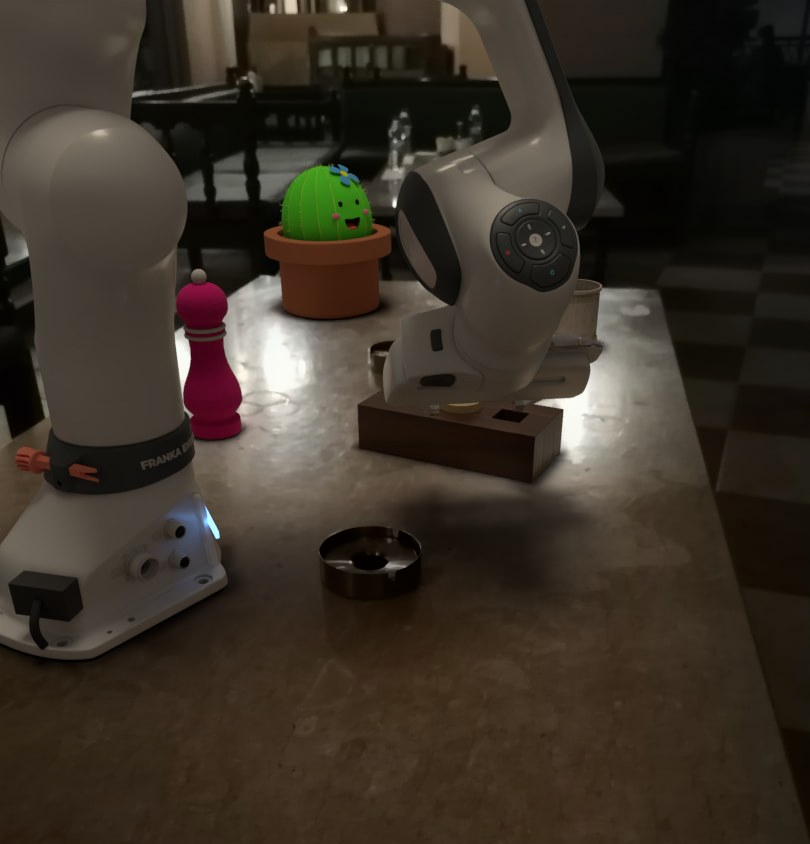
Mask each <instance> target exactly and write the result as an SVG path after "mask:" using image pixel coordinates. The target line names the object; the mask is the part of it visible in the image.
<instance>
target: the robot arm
mask: <svg viewBox="0 0 810 844" xmlns="http://www.w3.org/2000/svg"><path fill="white" fill-rule="evenodd" d="M146 1H147V0H0V212H1V213H2V215H3V216H4V218H6V220H7V221H8V222H10V224H12V226H14V227H15V228H16V229H17V230H18V231H20V232H21V233H22V234H23V237H24V240H25V241H24V242H25V244H26V249H27V254H28V260H29V267H30V276H31V282H32V283H31V286H32V287H31V288H32V296H33V297H32V298H33V309H34V336H33V342H34V348H35V352H36V357H37V362H38V366H39V371H40V376H41V381H42V387H43V391H44V394H45V400H46V405H47V410H48V415H49V419H50V423H51V427H50V429H49V431H48V438H47V443H46V449H45V451H44V450H41V449H35V448H33V447H30V446H22V447H20V448H19V449H17V451H16V453H15V454H16V455H15V456H14V460H15V461H14V464H15V465H16V468H17V469H19V470H20V471H22V472H23V471H24V472H32V473H33V474H34V475H35V474H36V475H41V474H43V478H44V481H43V482H42V484H41V486H40V487H39V488H38V490H37V491H36V492H35V494H34V495H33V497H32V499H31V500H30V502H29V503H28V505H27V506H26V508H25V509H24V511H23V512H22V513H21V515H20V516H19V518H18V519H17V520H16V522H15V523H14V525H13V526H12V528H11V529H10V530H9V532H8V533H7V535H6V536H5V537H4V539H3V540H2V541H1V543H0V644H2V645H4V646H7V647H8V648H11V649H13V650H17V651H19V652H22V653H25V654H29V655H33V656H36V657H40V658H46V659H52V660H53V659H55V660H66V661H79V660H89V659H90V660H91V659H95V658H97V657H98V656H100V655H103V654H104V653H106V652H108V651H110V650H112V649H114V648H116V647H118V646H119V645H122V644H123V643H125V642H127V641H128V640H131V639H132V638H134V637H136V636H138V635H140V634H142V633H143V632H145V631H147V630H149V629H151V628H153V627H154V626H156V625H158V624H160V623H162V622H164V621H165V620H167V619H169V618H171V617H173V616H174V615H176V614H178V613H180V612H182V611H183V610H185V609H187V608H189V607H191V606H194V605H195V604H197V603H199V602H201V601H202V600H204V599H206V598H207V597H209V596H211V595H213V594H214V593H215V594H216V593H217V592H218V591H220V590H223V588H226V586H227V585H228V584H229V579H228V575H227V572H226V569H225V568H224V566H223V565H222V563H221V561H222V550H221V547H220V544H219V543H218V541H217V540H218V539H220V531H219V529H218V528H217V525H216V524H215V522H214V520H213V518H212V516H211V514H210V512H209V510H208V509H207V507H206V504H205V500H204V496H203V493H202V490H201V487H200V485H199V482H198V479H197V476H196V472H195V468H194V463H193V460H194V458H195V455H196V449H195V436H194V434H193V432H192V428H191V422H190V418H191V417H190V415H189V413H188V412H187V411H185V406H184V402H183V390H182V384H181V376H180V368H179V367H180V366H179V360H178V353H177V345H176V335H175V334H176V333H175V303H176V301H175V299H176V287H177V286H176V285H177V269H178V243H179V241H180V240H181V237H182V236H183V233H184V230H185V228H186V227H185V226H186V222H187V218H188V195H187V194H188V193H187V190H186V186H185V182H184V179H183V176H182V174H181V172H180V169H179V168H178V166H177V164H176V163H175V161H174V160H173V159H172V157H171V156H170V155H169V153H168V152H167V150H165V149H164V147H163V146H162V145H161V143H159V141H158V140H156V138H154V136H152V134H150V132H148V131H147V130H146V129H145V128H144V127H143V126H141V125H140V124H138V123H137V122H136V121H134V120H132V119H131V116H132V115H131V114H132V102H133V101H132V100H133V93H134V83H135V82H134V80H135V75H136V74H135V73H136V65H137V60H138V53H139V48H140V42H141V39H142V35H143V33H144V30H145V26H146V23H147V2H146ZM437 1H439V2H441V3H445V4H448V5H450V6H452V7H454V8H456V9H457V10H459V11H460V12H461V13H463V14H464V15H465V16H466V17H467V18H468V19H469V20H470V21H471V23H472V24H473V25H474V28H475V29H476V31H477V33H478V35H479V38H480V40H481V42H482V45H483V47H484V50H485V52H486V54H487V57H488V59H489V62H490V64H491V67H492V69H493V72H494V75H495V77H496V79H497V82H498V85H499V87H500V89H501V91H502V94H503V97H504V99H505V102H506V104H507V107H508V110H509V112H510V118H511V119H510V124H509V126H508V128H507V129H506V130H505V131H503V132H500V133H499V134H496V135H494V136H491V137H489V138H486V139H484V140H481V141H480V142H478V143H475V144H472V145H470V146H468V147H466V148H463V149H457V150H455V151H453V152H450V153H448V154H446V155H443V156H441V157H439V158H436V159H434V160H432V161H429V162H428V163H425V164H422V165H421V166H419V167H416V168H415V169H414V170H410V171H409V172H407V174H406V175H405V177H404V178H403V181H402V183H401V185H400V187H399V191H398V195H397V200H396V203H395V213H394V228H395V234H396V235H395V236H396V240H397V244H398V247H399V251H400V254H401V255H402V256H401V257H402V258H403V260H404V263H405V264H406V266H407V267H408V269H409V271H410V273H411V274H412V275H413V276H414V278H415V279H416V281H417V282H418V283H419V285H421V286H422V287H423V288H424V289H425V290H426V291H427V292H428V293H430V294H431V295H432V296H433V297H435V298H437V299H438V300H439V301H440V302H442V303H444V304H446V305H445V306H441V307H438V308H434V309H431V310H427V311H422V312H417V313H413V314H409V315H406V316H405V317H403V319H402V321H401V331H400V332H401V333H400V336H399V337H398V338H396V339H395V340H394V341H393V342H392V344H391V345H390V347H389V349H388V351H387V354H386V357H385V360H384V365H383V370H382V387H383V389H384V396H385V401H386V403H387V404H389V405H391V406H393V407H403V406H420V407H421V408H423V409H424V411H425V416H437V415H439V413H440V410H441V409H440V405H441V404H462V403H482V402H502V401H512V404H513V407H512V409H513V411H527V410H528V408H529V406H530V405H533V404H537V403H539V402H541V401H544V400H559V399H561V400H562V399H572V398H575V397H578V396H580V395H582V394H583V393H584V391H585V390H586V388H587V385H588V383H589V380H590V375H591V364H593V363H595V362H596V361H598V360H599V358H600V356H601V354H602V352H603V350H604V346H603V344H602V342H601V341H598V340H597V341H594V340H592V339H591V337H585V336H580V335H573V334H566V335H554V333H555V331H556V330H557V329H558V327H559V326H560V324H561V322H562V320H563V318H564V316H565V314H566V312H567V310H568V307H569V305H570V302H571V300H572V297H573V294H574V291H575V288H576V284H577V280H578V279H579V274H580V265H581V246H580V240H579V235H578V232H579V231H581V230H583V229H584V228H585V227H586V226H587V225H588V224H589V222H590V221H591V219H592V217H593V215H594V213H595V211H596V209H597V207H598V204H599V203H600V199H601V197H602V194H603V190H604V186H605V179H606V170H605V169H606V168H605V163H604V159H603V156H602V153H601V150H600V148H599V146H598V144H597V141H596V139H595V137H594V135H593V132H592V131H591V130H590V128H589V126H588V124H587V122H586V120H585V119H584V116H583V115H582V113H581V112H580V109H579V108H578V105H577V103H576V100H575V98H574V96H573V93H572V90H571V88H570V85H569V83H568V80H567V77H566V74H565V72H564V69H563V66H562V63H561V60H560V58H559V55H558V52H557V49H556V47H555V44H554V41H553V39H552V38H553V37H552V36H551V33H550V30H549V28H548V25H547V22H546V19H545V16H544V14H543V11H542V9H541V6H540V2H539V0H437Z"/></svg>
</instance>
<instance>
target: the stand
mask: <svg viewBox="0 0 810 844" xmlns="http://www.w3.org/2000/svg"><path fill="white" fill-rule="evenodd" d="M512 407H513V404H512V401H502V402H482V408H481V409H480V410H479V411H477V412H474V413H468V414H454V413H449V412H446V411H443V410H442V409H441V408H440V409H441V410H440V413H439V415H437V416H425V411H424V409H423V408H421V407H420V406H403V407H393V406H391V405H389V404H387V403H386V401H385V396H384V388H382V389H380V390H379V391H377V392H376V393H374V394H372V395H370V396H369V397H367V398H365V399H364V400H362V401H361V402H359V403H358V404H357V426H358V427H357V428H358V430H357V431H358V448H361V449H365V450H369V451H373V452H379V453H384V454H390V455H394V456H399V457H405V458H409V459H413V460H419V461H423V462H429V463H433V464H439V465H444V466H448V467H454V468H458V469H464V470H469V471H472V472H478V473H483V474H488V475H492V476H493V475H494V476H497V477H502V478H507V479H513V480H516V481H517V480H518V481H523V482H528V483H533V482H534V481H535V480H536V479H537V478H538V477H539V476H540V475H541V474H542V473H543V472H544V471H545V470H546V468H548V466H549V465H550V464H551V463H552V462H553V461H554V460H555V459H556V457H558V456H559V454H560V453H561V449H562V448H561V447H562V435H563V425H564V424H563V423H564V422H563V421H564V412H565V411H564V409H563V408H560V407H553V406H547V405H541V404H537V403H535V404H533V405H530V406H529V408H528V410H527V411H513V409H512Z"/></svg>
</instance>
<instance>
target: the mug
mask: <svg viewBox="0 0 810 844" xmlns="http://www.w3.org/2000/svg"><path fill="white" fill-rule="evenodd" d="M601 291H603V284H601V283H600V282H597V281H595V280H591V279H583V278H578V280H577V284H576V288H575V291H574V294H573V297H572V300H571V302H570V305H569V307H568V310H567V312H566V314H565V316H564V318H563V320H562V322H561V324H560V326H559V327H558V329H557V330H556V331H555V333H554V335H566V334H573V335H580V336H585V337H591V339H592V340H594V341H598V335H597V328H598V320H599V319H598V317H599V308H600V307H599V306H600V298H601Z"/></svg>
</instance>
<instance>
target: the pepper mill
mask: <svg viewBox="0 0 810 844" xmlns="http://www.w3.org/2000/svg"><path fill="white" fill-rule="evenodd" d="M190 279H191V281H192V282H191V283H188V284H186V285H185V286H183V287H182V288H181V289H180V290H179V292H178V294H177V296H176V298H175V299H176V301H175V309H176V312H177V315H178V317H179V318H180V319H181V320H182V321H183V322H184V323H185V324H184V325H183V327H182V329H183V331H184V334H183V336H184V338H185V339H186V340H187V341H188V345H189V353H190V356H189V357H190V361H189V368H188V371H187V374H186V378H185V382H184V384H183V389H182V398H183V406H184V408H185V409H186V410H187V411H188V412H189V414H191V415H192V416H191V417H190V422H191V428H192V432H193V434H194V437H195V438H198V439H203V440H223V439H227V438H230V437H233V436H235V435H237V434H239V432H241V430H242V427H243V426H242V418H241V417H242V416H241V415H240V413H239V412H237V411H238V409H239V408H240V407H241V405H242V403H243V392H242V387H241V385H240V382H239V379H238V378H237V376H236V374H235V372H234V371H233V369H232V367H231V366H230V364H229V361H228V358H227V355H226V350H225V343H224V342H225V341H224V340H225V339H224V338H225V337H226V336H227V335H228V332H227V330H226V327H227V324H226V322H225V321H223V320H224V318H225V317H226V316H227V314H228V312H229V311H228V310H229V303H228V298H227V295H226V293H225V292H224V290H222V287H220V286H218V285H217V284H214V283H212V282H207V274H206V272H205V271H204V270H203V269H201V268H196V269H193V271H192V272H191V274H190Z"/></svg>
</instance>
